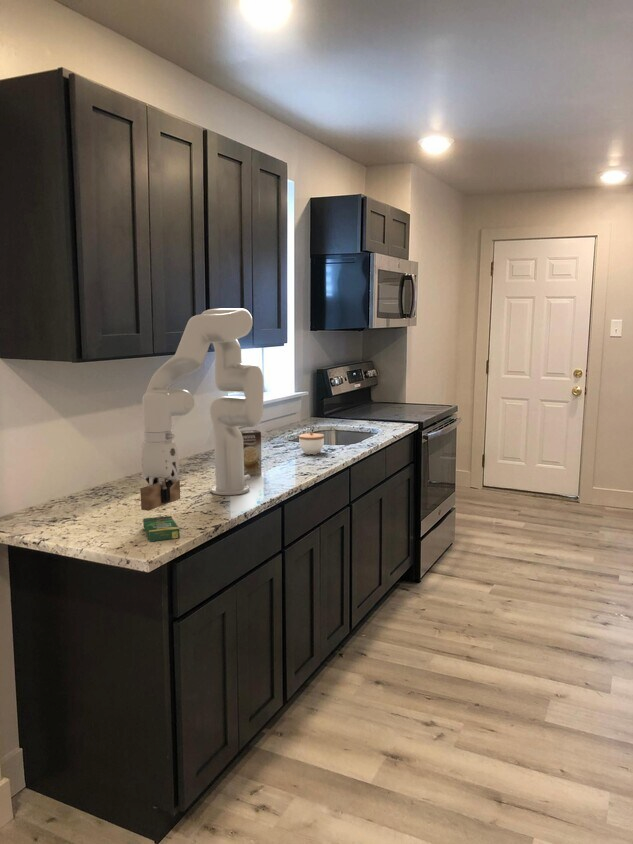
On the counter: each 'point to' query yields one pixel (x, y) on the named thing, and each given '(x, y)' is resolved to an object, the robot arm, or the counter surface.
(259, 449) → the coffee box
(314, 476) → the counter surface
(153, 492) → the brown rectangular block
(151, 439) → the robot arm
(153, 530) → the coffee box
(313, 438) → the lidded jar
